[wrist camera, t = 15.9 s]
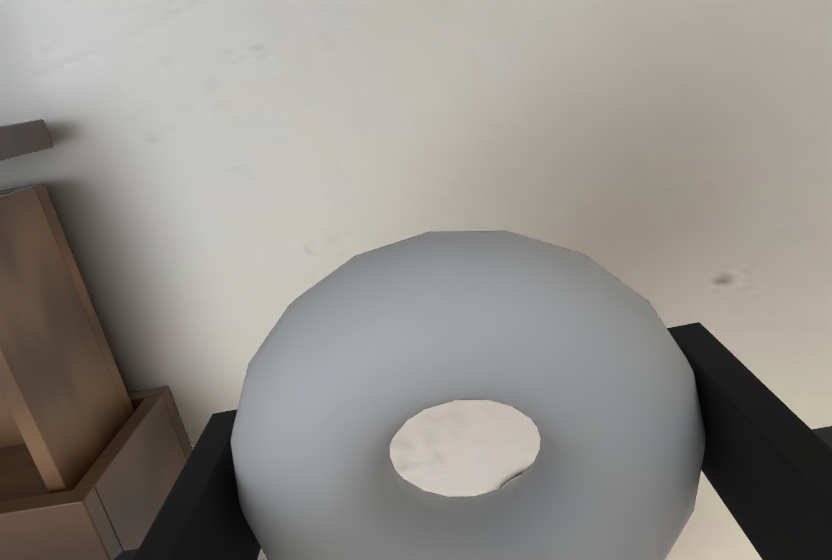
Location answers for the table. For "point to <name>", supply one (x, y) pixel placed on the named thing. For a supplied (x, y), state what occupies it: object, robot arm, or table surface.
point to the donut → (469, 380)
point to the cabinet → (104, 492)
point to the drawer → (48, 345)
